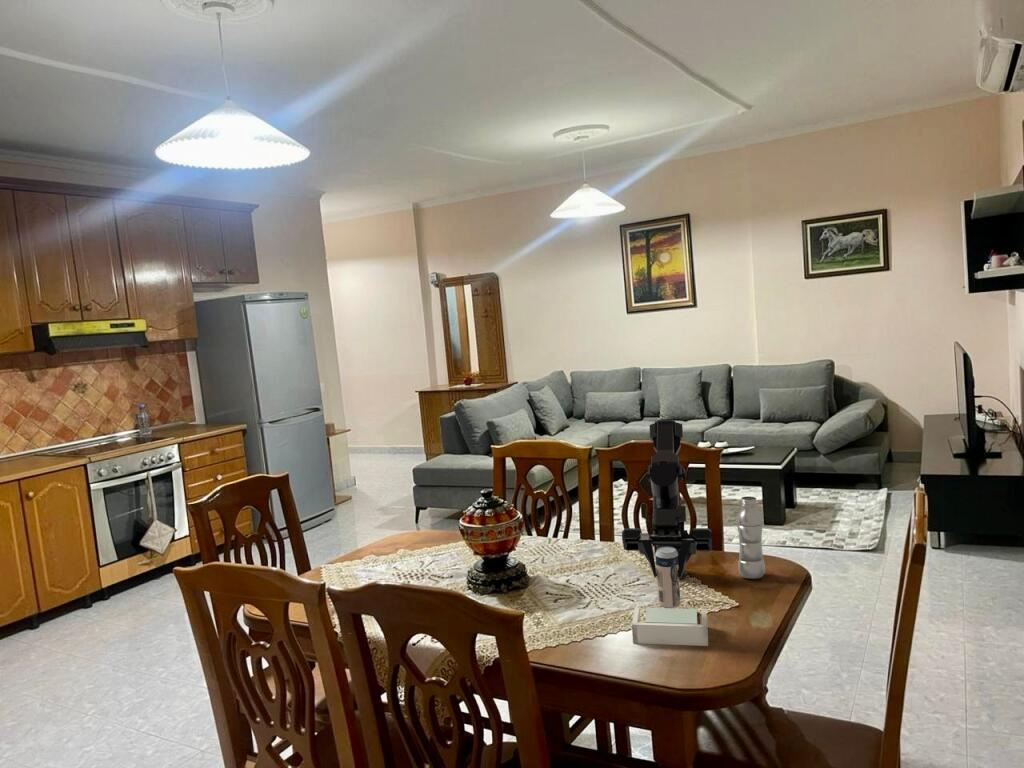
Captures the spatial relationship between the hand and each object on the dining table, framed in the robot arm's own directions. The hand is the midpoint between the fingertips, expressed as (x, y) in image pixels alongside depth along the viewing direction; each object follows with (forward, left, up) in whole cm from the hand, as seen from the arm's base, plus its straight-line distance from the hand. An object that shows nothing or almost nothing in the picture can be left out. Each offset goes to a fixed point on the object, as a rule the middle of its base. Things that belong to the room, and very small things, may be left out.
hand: (667, 576), depth 153 cm
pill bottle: (-1, -1, -7) cm, 7 cm away
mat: (-7, -4, -12) cm, 15 cm away
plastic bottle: (-39, 0, -13) cm, 41 cm away
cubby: (0, 0, -12) cm, 12 cm away
